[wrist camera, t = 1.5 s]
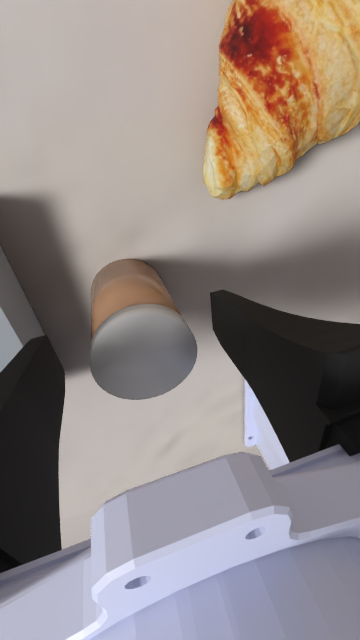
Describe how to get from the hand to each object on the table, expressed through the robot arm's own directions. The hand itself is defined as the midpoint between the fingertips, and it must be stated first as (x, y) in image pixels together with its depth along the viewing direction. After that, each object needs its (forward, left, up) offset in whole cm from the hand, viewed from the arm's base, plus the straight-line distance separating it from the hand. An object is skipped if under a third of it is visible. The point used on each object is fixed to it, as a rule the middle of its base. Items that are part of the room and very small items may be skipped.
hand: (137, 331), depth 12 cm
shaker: (0, 0, -4) cm, 4 cm away
